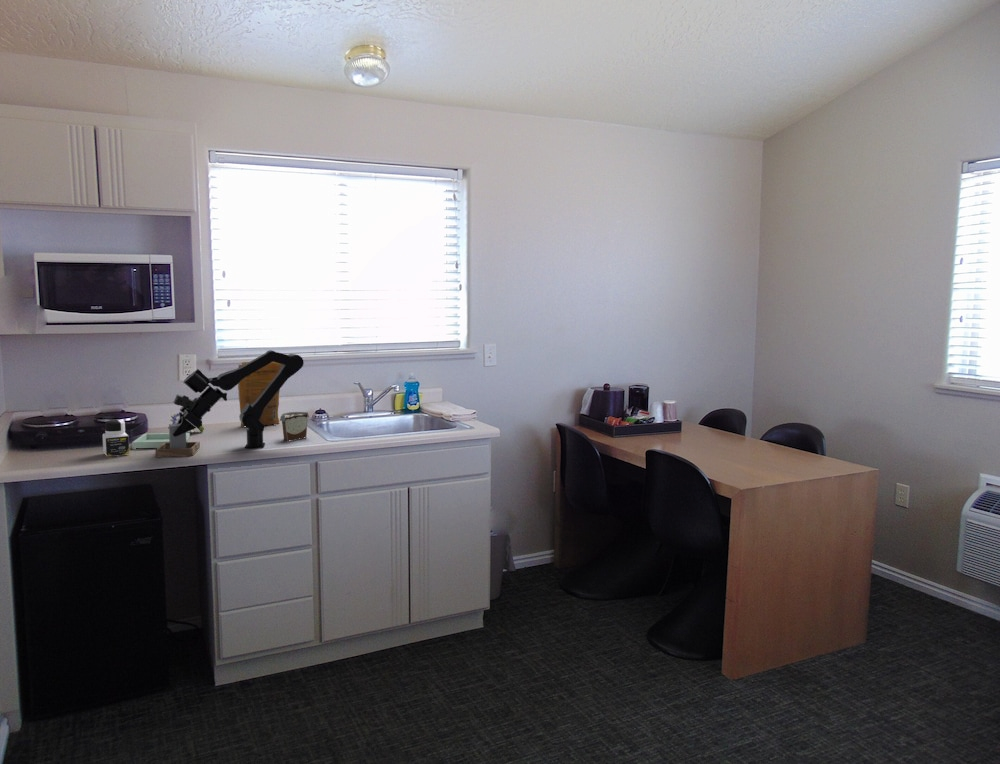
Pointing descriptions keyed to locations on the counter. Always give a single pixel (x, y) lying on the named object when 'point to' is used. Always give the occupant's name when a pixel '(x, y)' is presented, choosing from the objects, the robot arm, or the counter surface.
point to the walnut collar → (177, 450)
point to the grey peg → (176, 438)
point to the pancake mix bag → (260, 391)
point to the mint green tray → (153, 440)
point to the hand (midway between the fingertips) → (173, 434)
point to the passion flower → (176, 419)
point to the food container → (294, 425)
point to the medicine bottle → (115, 438)
